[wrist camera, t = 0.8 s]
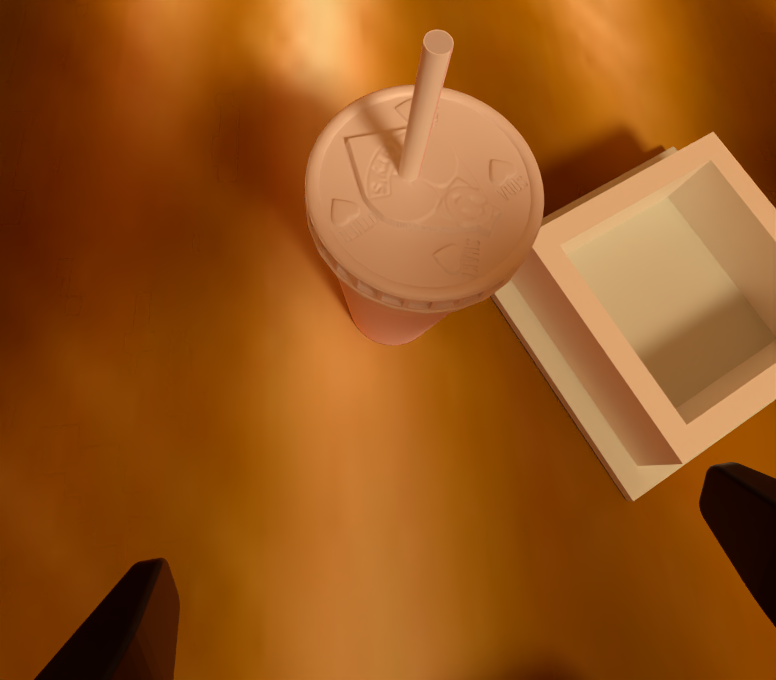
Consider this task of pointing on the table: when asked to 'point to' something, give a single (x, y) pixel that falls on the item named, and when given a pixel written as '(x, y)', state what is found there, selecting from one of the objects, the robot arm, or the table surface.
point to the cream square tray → (654, 310)
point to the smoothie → (421, 201)
